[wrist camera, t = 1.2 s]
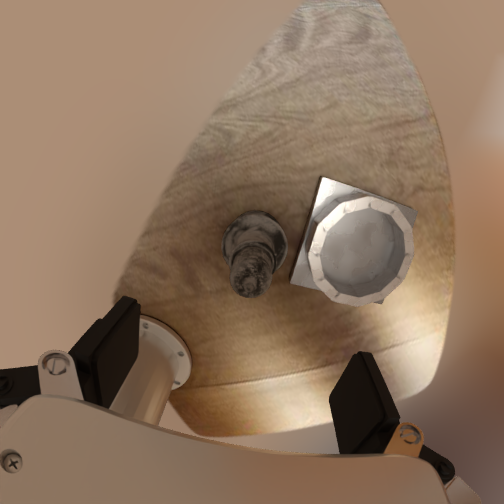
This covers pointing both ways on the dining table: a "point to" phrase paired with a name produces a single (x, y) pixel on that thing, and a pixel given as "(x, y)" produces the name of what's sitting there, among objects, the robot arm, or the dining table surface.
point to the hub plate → (354, 245)
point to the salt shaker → (253, 252)
